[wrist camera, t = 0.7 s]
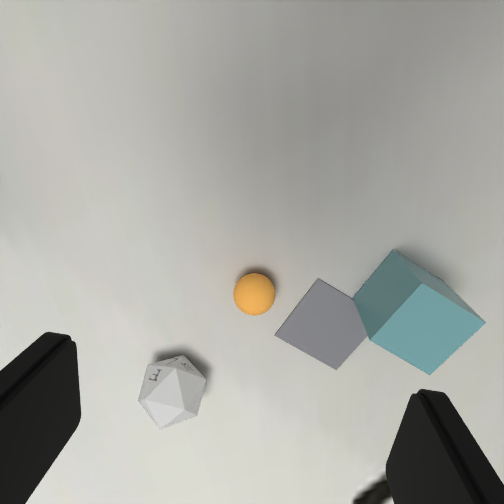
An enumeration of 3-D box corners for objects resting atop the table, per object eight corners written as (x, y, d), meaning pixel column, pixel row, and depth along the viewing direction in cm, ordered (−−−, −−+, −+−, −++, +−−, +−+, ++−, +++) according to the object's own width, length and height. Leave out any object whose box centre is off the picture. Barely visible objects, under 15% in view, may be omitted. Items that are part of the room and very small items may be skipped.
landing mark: (317, 278, 42) (318, 279, 41) (383, 317, 43) (383, 318, 43) (274, 334, 45) (274, 335, 45) (336, 369, 46) (336, 370, 46)
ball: (249, 259, 41) (244, 277, 37) (283, 279, 42) (283, 299, 37) (229, 289, 43) (222, 310, 39) (262, 308, 44) (260, 330, 39)
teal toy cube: (393, 249, 39) (422, 283, 31) (444, 281, 40) (485, 322, 32) (352, 297, 42) (369, 340, 34) (401, 327, 43) (429, 375, 35)
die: (218, 354, 48) (170, 365, 40) (218, 418, 47) (168, 443, 38) (175, 350, 52) (123, 360, 44) (173, 409, 51) (120, 430, 43)
